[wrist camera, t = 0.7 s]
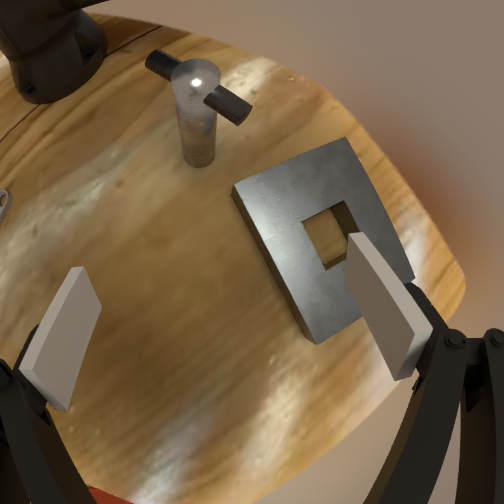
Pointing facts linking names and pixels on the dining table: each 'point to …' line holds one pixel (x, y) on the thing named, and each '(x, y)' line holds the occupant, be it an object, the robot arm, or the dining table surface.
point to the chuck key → (198, 103)
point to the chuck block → (298, 242)
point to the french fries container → (106, 498)
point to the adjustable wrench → (2, 210)
